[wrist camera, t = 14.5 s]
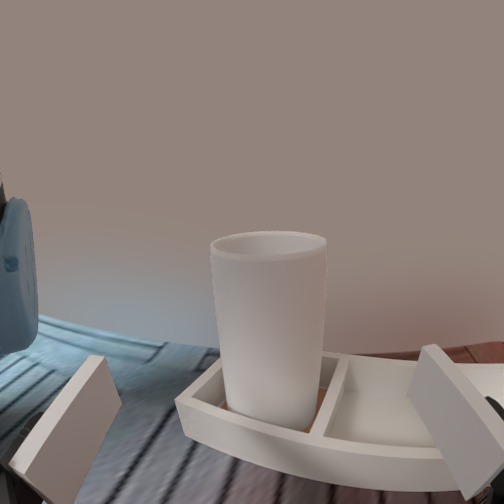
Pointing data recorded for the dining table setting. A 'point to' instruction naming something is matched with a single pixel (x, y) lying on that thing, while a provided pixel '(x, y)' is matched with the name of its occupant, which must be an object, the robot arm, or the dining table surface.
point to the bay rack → (338, 426)
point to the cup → (271, 323)
